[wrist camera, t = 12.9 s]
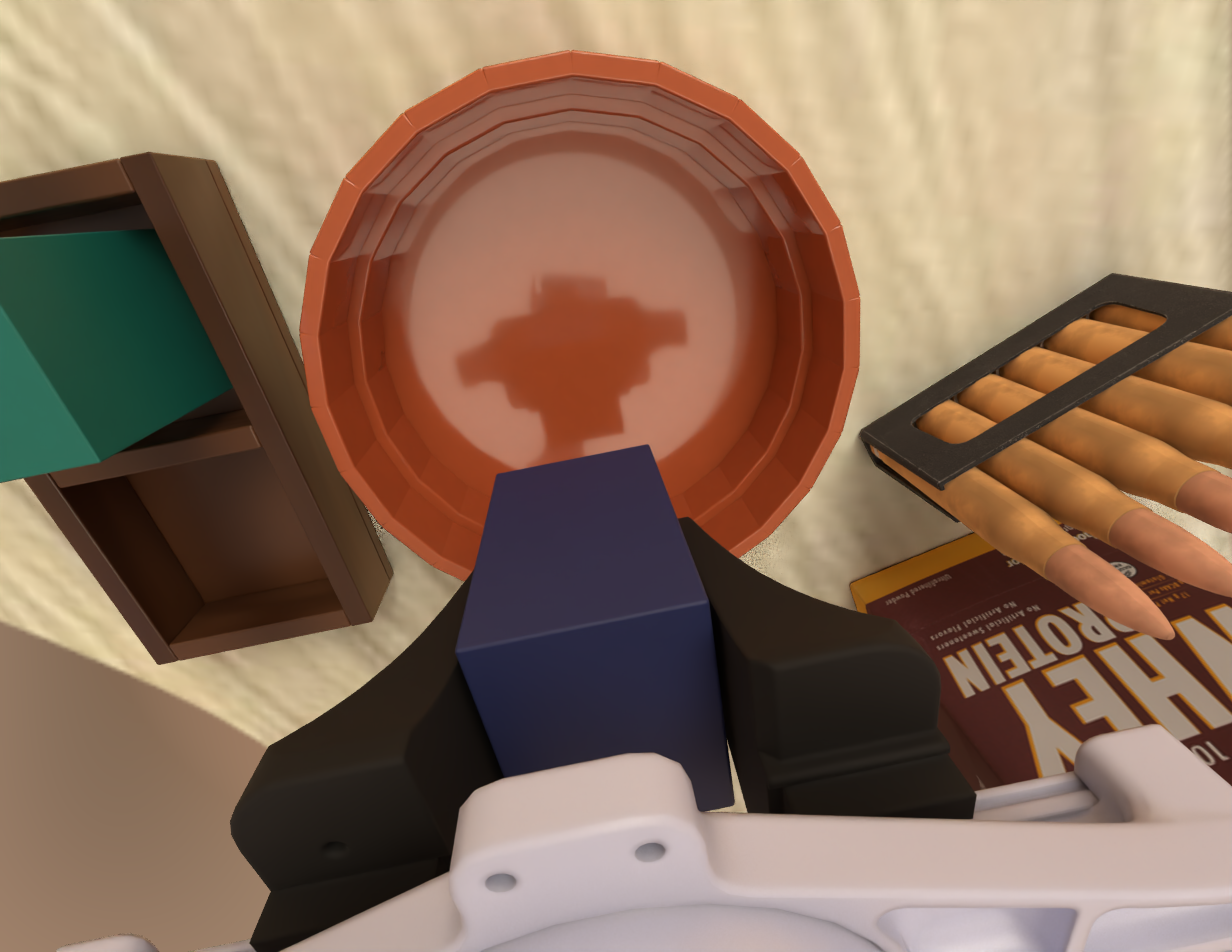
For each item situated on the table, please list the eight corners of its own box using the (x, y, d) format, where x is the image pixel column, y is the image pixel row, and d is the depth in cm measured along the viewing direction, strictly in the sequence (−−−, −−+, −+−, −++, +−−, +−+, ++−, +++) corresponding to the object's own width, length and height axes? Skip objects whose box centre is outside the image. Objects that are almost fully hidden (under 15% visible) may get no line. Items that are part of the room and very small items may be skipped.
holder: (204, 612, 24) (157, 666, 21) (-50, 213, 17) (-169, 214, 14) (394, 573, 24) (372, 622, 21) (215, 160, 17) (149, 151, 14)
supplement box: (1067, 488, 25) (1712, 846, 11) (1085, 708, 32) (1505, 1109, 18) (844, 578, 26) (1177, 1011, 12) (907, 774, 33) (1170, 1202, 19)
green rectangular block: (123, 408, 19) (-65, 496, 14) (31, 254, 17) (-241, 279, 11) (238, 385, 19) (100, 462, 14) (161, 227, 17) (-43, 239, 11)
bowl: (801, 490, 24) (858, 556, 19) (442, 563, 24) (415, 646, 19) (784, 46, 17) (865, -10, 13) (282, 146, 17) (184, 126, 13)
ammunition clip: (874, 465, 24) (1138, 683, 13) (856, 432, 23) (1121, 633, 12) (1125, 313, 22) (1678, 418, 11) (1114, 271, 21) (1696, 340, 10)
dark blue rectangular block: (540, 624, 17) (531, 848, 11) (495, 473, 15) (452, 651, 9) (673, 597, 17) (735, 807, 11) (649, 442, 15) (709, 600, 9)
